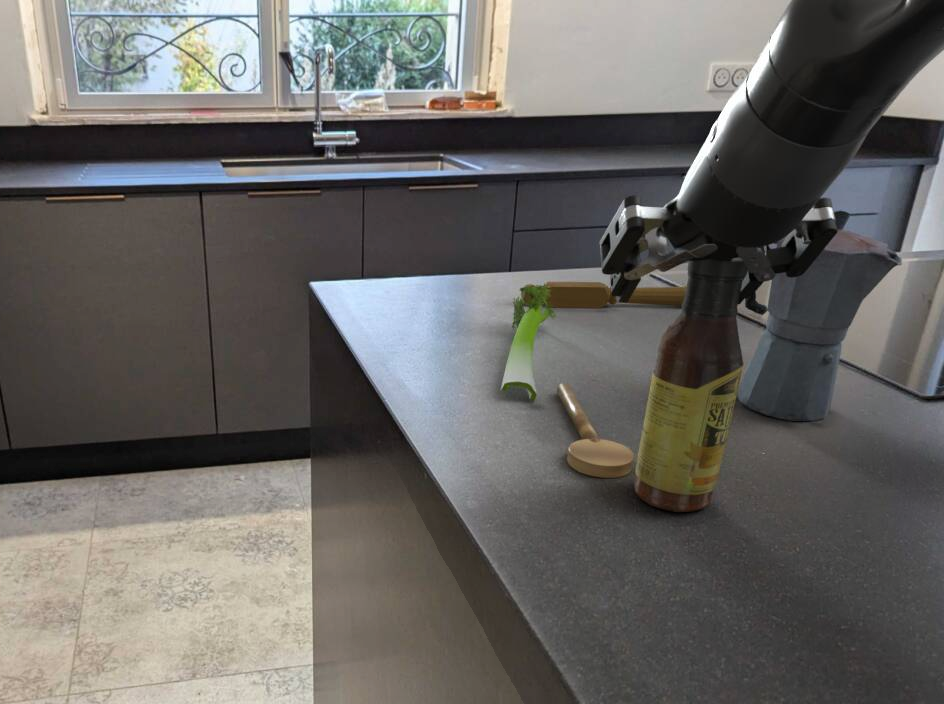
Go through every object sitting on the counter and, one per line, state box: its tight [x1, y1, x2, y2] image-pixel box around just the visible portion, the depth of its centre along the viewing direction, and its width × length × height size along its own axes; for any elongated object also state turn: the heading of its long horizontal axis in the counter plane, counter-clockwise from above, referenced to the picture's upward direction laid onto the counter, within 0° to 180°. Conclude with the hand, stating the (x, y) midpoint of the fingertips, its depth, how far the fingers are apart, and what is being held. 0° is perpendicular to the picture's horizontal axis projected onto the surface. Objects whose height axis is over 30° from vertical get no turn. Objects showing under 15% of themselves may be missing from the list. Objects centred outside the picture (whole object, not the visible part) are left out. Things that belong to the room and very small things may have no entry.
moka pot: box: [736, 210, 903, 422], centre depth 82 cm, size 10×15×20 cm, turn 36°
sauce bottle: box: [633, 258, 748, 513], centre depth 64 cm, size 7×6×20 cm
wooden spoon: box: [556, 382, 635, 479], centre depth 80 cm, size 20×6×1 cm, turn 178°
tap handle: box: [520, 281, 687, 309], centre depth 120 cm, size 3×3×30 cm
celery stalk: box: [500, 283, 557, 403], centre depth 99 cm, size 6×7×30 cm
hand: (676, 293), depth 64 cm, fingers open, 8 cm apart
